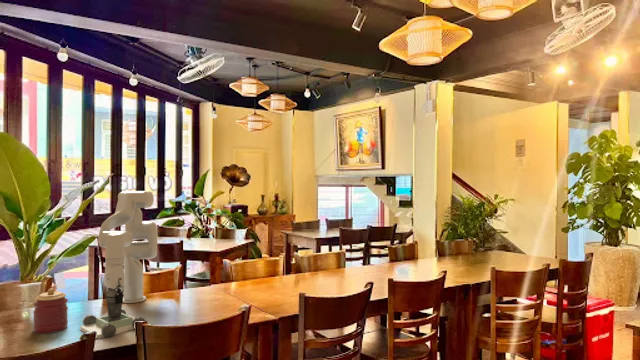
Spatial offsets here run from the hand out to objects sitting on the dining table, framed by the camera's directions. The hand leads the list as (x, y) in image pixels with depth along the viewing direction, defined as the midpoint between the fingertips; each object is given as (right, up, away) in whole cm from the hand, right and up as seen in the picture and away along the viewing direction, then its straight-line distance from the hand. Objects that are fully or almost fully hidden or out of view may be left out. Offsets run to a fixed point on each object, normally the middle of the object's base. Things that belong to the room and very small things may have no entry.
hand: (114, 301), depth 195 cm
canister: (-27, -12, -2) cm, 29 cm away
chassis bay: (0, -12, 0) cm, 12 cm away
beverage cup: (0, -9, 0) cm, 9 cm away
